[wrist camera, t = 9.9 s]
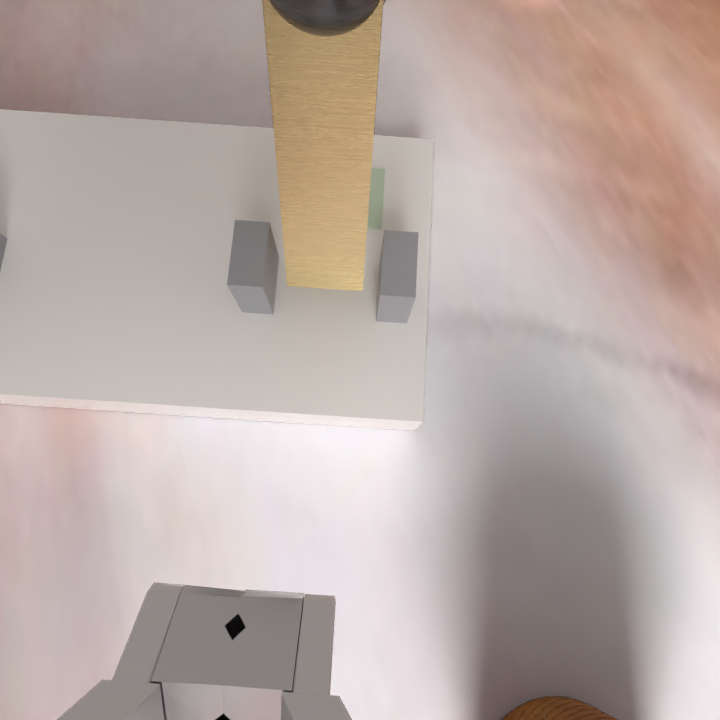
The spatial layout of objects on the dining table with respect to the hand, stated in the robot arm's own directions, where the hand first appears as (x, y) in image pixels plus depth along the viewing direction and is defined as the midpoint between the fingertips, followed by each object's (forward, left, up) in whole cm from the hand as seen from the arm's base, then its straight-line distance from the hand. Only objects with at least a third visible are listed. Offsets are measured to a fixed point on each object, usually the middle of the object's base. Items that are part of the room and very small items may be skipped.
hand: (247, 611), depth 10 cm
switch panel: (+11, +8, -14) cm, 19 cm away
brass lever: (+10, 0, -11) cm, 15 cm away
